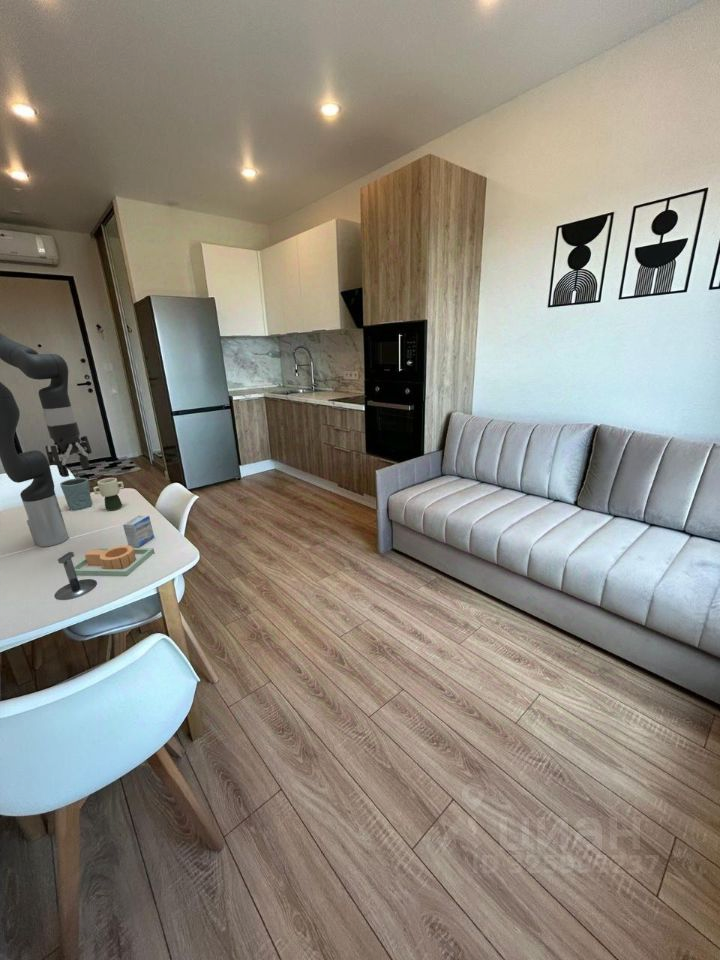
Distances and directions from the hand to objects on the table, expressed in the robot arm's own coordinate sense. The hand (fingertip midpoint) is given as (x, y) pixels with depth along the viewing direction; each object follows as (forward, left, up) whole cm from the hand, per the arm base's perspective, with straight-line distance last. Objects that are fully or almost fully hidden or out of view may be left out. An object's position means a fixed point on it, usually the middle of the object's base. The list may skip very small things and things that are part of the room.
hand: (75, 472), depth 125 cm
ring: (+13, -10, -27) cm, 32 cm away
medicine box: (+12, +6, -28) cm, 31 cm away
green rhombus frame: (+13, -10, -28) cm, 33 cm away
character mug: (-20, +36, -28) cm, 50 cm away
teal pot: (-37, +38, -28) cm, 60 cm away
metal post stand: (+12, -24, -28) cm, 39 cm away
